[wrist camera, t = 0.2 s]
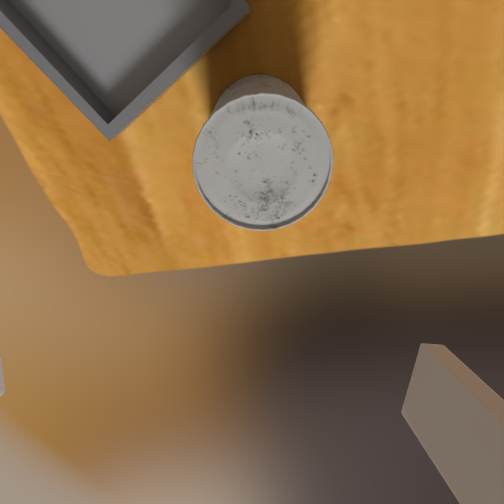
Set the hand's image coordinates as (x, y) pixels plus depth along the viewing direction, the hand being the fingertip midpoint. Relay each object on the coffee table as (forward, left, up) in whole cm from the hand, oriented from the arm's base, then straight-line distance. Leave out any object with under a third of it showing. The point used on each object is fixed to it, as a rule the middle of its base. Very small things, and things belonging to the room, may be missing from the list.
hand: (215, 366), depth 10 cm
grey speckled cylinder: (-2, 0, -28) cm, 28 cm away
